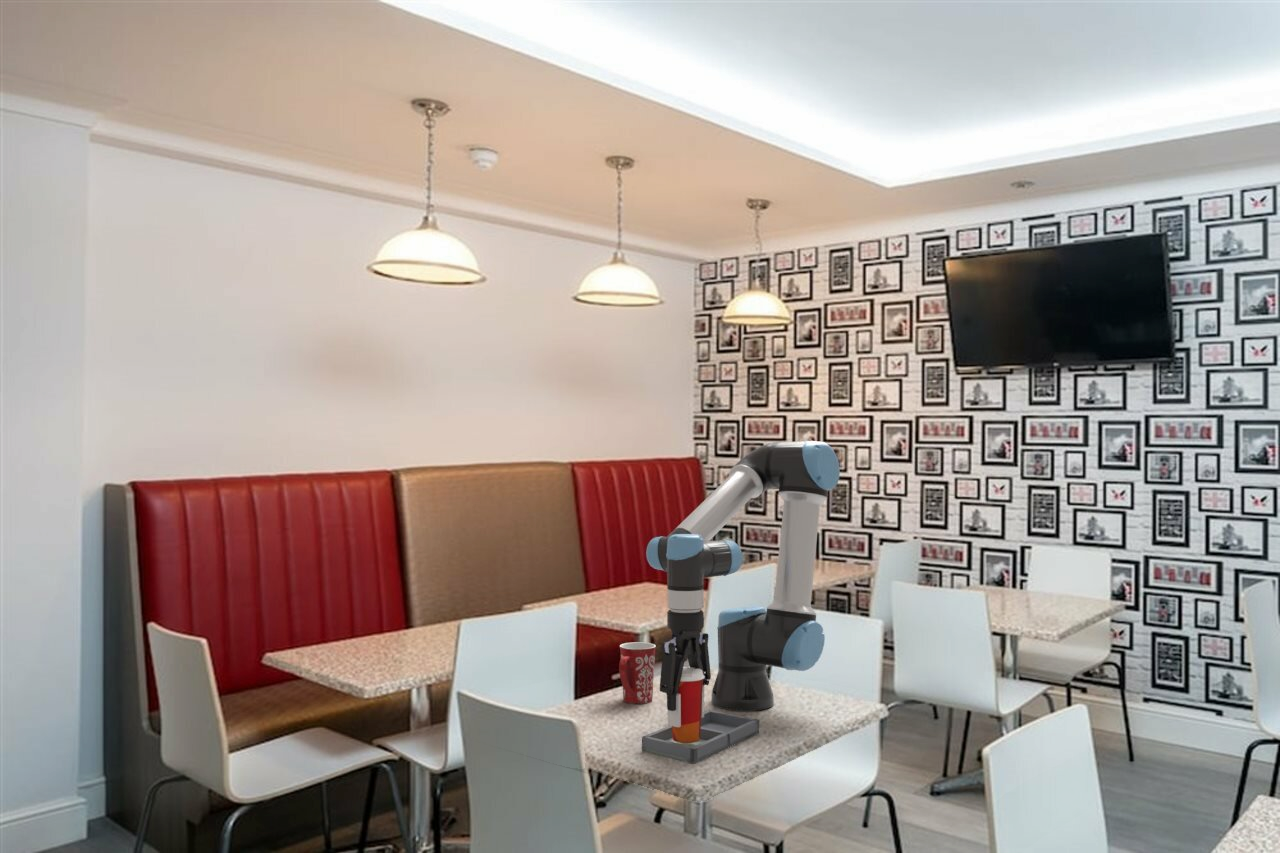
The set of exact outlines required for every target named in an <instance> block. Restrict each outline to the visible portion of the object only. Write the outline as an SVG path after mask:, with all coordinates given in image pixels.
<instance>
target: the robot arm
mask: <svg viewBox="0 0 1280 853" xmlns="http://www.w3.org/2000/svg"><path fill="white" fill-rule="evenodd" d="M840 474H841V473H840V464H839V459H838V456H837V455H836V453H835V451H834V449H833V447H831V445H829V444H827V443H826V442H823V441H818V440H817V441H816V440H815V441H814V440H802V441H782V442H781V441H773V442H770V443H766V444H764V445H760V446H759V447H758V448H755V449H754V450H752V451H751V452H749V453H747V454H746V455H745V456H744V457H742V458H741V459H740V460H739V461H738V462H737V463H736V464H734V465H733V466H732V467H731V468H730V470H729V475H728V477H727V478H726V479H725V480H724V481H723V482H721V484H720V485H718V486H717V488H716V489H715V490H713V491H712V492H711V494H709V496H707V497H706V498H705V499H704V501H702V502H701V503H700V504H699V505H698V506H697V507H696V508H695V509H694V510H693V511H692V512H691V513H689V515H688V516H686V518H685V519H684V520H682V522H681V523H680V524H679V525H677V527H675V529H674V530H673V531H672V532H670V533H669V534H668V535H667V536H665V535H663V536H662V535H661V536H655V537H653V538H652V539H651V540H650V541H648V543H647V547H646V552H645V555H646V560H647V562H648V564H649V565H650V567H652V568H653V569H655V570H658V571H659V570H660V571H663V572H666V576H667V577H666V578H667V580H666V581H667V582H666V583H667V608H668V609H669V610H668V611H667V612H666V613H667V625H666V626H667V627H668V630H670V631H671V636H670V640H669V641H662V642H661V652H662V656H661V670H660V680H659V691H660V692H661V693H665V694H666V709H667V725H668V726H674V727H681V694H678V689H679V685H680V680H681V675H682V671H683V667H685V666H684V665H685V663H686V662H687V661H688V667H689V668H690V667H692V668H695V669H697V668H698V669H701V670H702V671H703V675H704V676H705V678H704V679H703V692H702V712H701V718H703V717H704V712H705V686H709V684H710V680H711V679H712V677H711V676H712V675H711V674H712V673H711V663H710V653H709V634H708V633H706V632H700V630H702V629H703V628H704V626H705V625H704V621H705V620H704V618H705V616H704V615H705V614H704V610H702V609H703V608H704V607H705V603H704V602H705V600H704V594H705V593H704V579H706V578H712V577H723V576H724V577H726V576H728V575H731V574H735V573H736V572H738V571H739V570H740V568H741V567H742V565H743V564H742V563H743V553H742V552H743V551H742V550H741V548H740V546H739V545H738V543H736V542H735V541H733V540H730V539H729V540H728V539H719V540H712V539H713V538H714V537H715V536H716V535H717V533H719V532H720V531H721V530H722V529H723V527H724V526H726V525H727V524H728V522H729V521H731V520H732V518H733V517H734V516H735V515H736V514H737V513H738V512H740V510H741V509H742V508H743V507H745V505H746V504H747V503H748V502H749V501H750V500H751V499H755V498H758V497H759V496H760V495H762V494H763V493H764V492H765V491H768V490H773V489H774V490H775V489H778V495H779V496H780V498H781V499H782V500H783V508H782V519H781V530H780V536H779V537H780V538H779V548H778V558H777V566H776V567H777V568H776V579H775V589H774V600H773V601H772V603H770V604H769V605H768V606H766V608H765V607H764V606H743V607H735V608H733V607H732V608H726V609H724V610H722V611H721V612H719V614H718V620H717V621H718V622H717V652H718V654H717V655H718V658H717V659H718V660H717V662H718V664H717V665H718V671H717V674H716V677H715V681H714V685H713V687H712V691H711V704H712V705H713V706H715V707H718V708H720V709H722V710H723V709H724V710H728V711H729V710H731V711H740V712H751V711H753V712H754V711H760V710H761V711H762V710H767V709H769V708H771V707H773V706H774V702H775V701H774V698H775V697H774V693H773V689H772V686H771V683H770V682H771V681H769V677H768V674H767V666H771V667H776V668H781V669H785V670H787V671H798V672H805V671H807V670H810V669H812V668H813V667H814V666H815V665H816V664H817V663H818V661H819V659H820V658H821V656H822V654H823V650H824V646H825V637H826V636H825V633H824V629H823V626H822V624H821V623H819V622H818V621H816V620H817V612H816V611H815V610H814V608H812V604H811V603H812V594H813V593H812V592H813V583H814V573H815V562H816V550H817V542H818V541H817V540H818V529H819V521H820V520H819V518H820V509H821V508H820V507H821V505H822V504H823V503H824V502H826V500H828V492H829V491H831V490H834V488H836V486H837V484H838V482H839V480H840Z"/></svg>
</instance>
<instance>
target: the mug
mask: <svg viewBox="0 0 1280 853" xmlns="http://www.w3.org/2000/svg"><path fill="white" fill-rule="evenodd" d="M656 648H657V646H656V644H654V643H651V642H644V641H643V642H641V641H640V642H639V641H636V642H625V643H621V644H620V645H619V649H620V660H619V664H618V672H619V678H620V681H621V685H622V698H623V701H624V702H625V703H628V702H629V703H628V704H635V703H640V704H647V702H648V703H650V702H653V696H654V694H653V692H654V675H655V674H654V673H655V661H656V659H655V658H656V657H655V656H656Z"/></svg>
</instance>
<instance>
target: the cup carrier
mask: <svg viewBox="0 0 1280 853" xmlns="http://www.w3.org/2000/svg"><path fill="white" fill-rule="evenodd" d="M758 734H760V719H757V718H751V717H747V716H741V715H737V714H733V713H732V714H731V713H728V712H721V711H716V710H711V709H708V710H704V717H703V718H701V731H700V740H699V741H698V742H695V743H679V742H676V741H674V740H673V734H672V726H669V725H668V726H665V727H663V728H660V729H657V730H655V731H652V732H650V733H647V734H645V735H643V736H641V751H642V752H645V753H649V754H654V755H658V756H662V757H665V756H666V757H665V758H669V757H670V758H669V759H673V758H674V759H675V760H677V759H678V761H681V760H683V761H682V762H685V761H686V763H689V762H690V763H689V764H694V765H695V764H697V763H699V762H701V761H703V760H706V759H707V757H708V758H709V756H710V757H712V756H714V755H716V754H718V753H720V752H722V751H724V750H726V749H729V748H731V747H733V746H735V745H737V744H740V743H741V742H744V741H745V740H747V739H750V738H753V737H754V736H756V735H758ZM734 744H735V745H734ZM732 745H733V746H732ZM730 746H731V747H730ZM728 747H729V748H728ZM721 750H722V751H721ZM719 751H720V752H719ZM717 752H718V753H717ZM715 753H716V754H715ZM713 754H714V755H713ZM711 755H712V756H711ZM700 760H701V761H700ZM698 761H699V762H698ZM696 762H697V763H696Z"/></svg>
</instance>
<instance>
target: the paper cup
mask: <svg viewBox="0 0 1280 853" xmlns="http://www.w3.org/2000/svg"><path fill="white" fill-rule="evenodd" d="M704 678H705V676H704V675H703V671H702V670H701V669H698V668H697V669H695V668H692V667H690V666H683V671H682V675H681V680H680V685H679V689H678V694H681V727H674V726H672V734H673V740H674V741H676V742H679V743H695V742H698V741H699V740H700V731H701V712H702V692H703V679H704Z"/></svg>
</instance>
